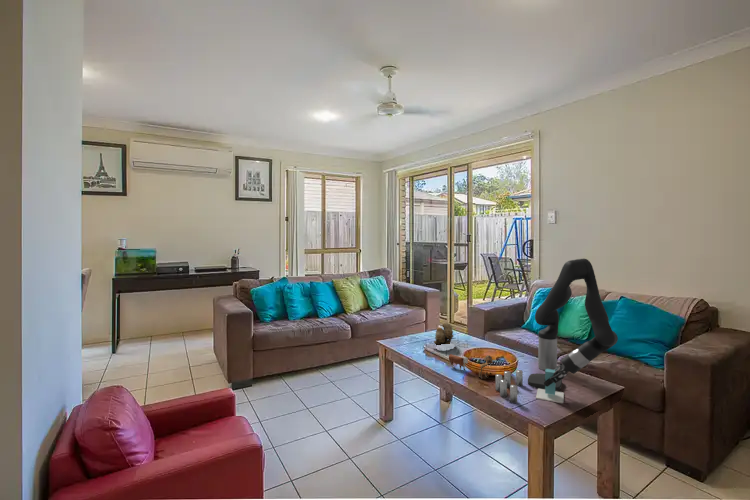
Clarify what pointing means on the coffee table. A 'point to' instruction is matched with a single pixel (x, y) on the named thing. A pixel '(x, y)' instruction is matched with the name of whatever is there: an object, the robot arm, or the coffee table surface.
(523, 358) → the coffee table surface
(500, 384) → the posts
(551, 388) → the teal block
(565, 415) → the coffee table surface
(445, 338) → the brown squirrel figurine
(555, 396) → the tile
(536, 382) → the media streaming box
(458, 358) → the bull figurine
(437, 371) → the coffee table surface
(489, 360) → the lion figurine
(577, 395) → the coffee table surface
